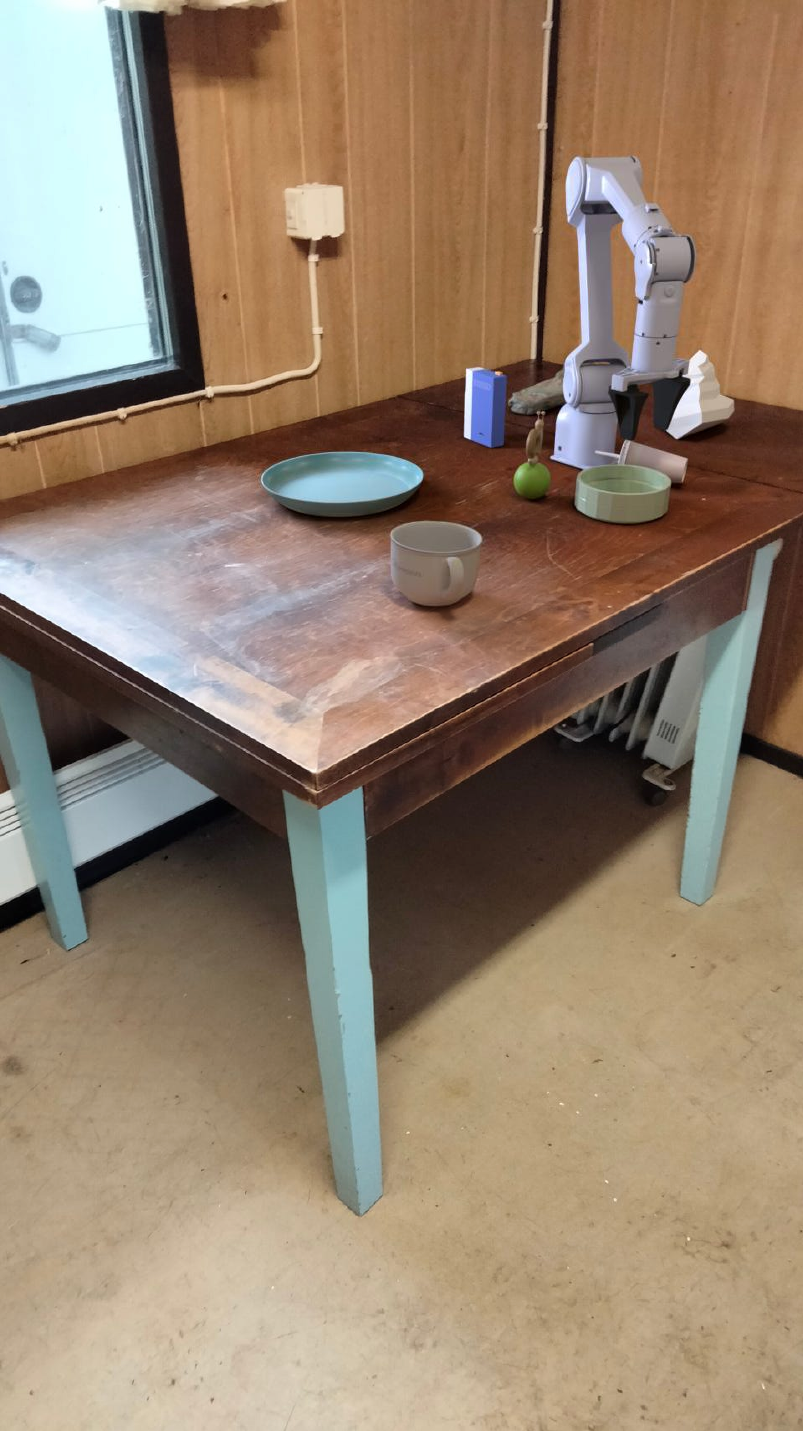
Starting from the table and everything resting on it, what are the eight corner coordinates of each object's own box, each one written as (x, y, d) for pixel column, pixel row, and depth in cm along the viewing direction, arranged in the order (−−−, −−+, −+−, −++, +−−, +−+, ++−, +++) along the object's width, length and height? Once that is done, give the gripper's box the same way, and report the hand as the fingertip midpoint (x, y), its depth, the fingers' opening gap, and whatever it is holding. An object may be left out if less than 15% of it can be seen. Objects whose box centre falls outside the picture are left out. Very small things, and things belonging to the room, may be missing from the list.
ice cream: (640, 442, 182) (636, 357, 178) (688, 432, 192) (685, 352, 187) (702, 438, 173) (699, 349, 169) (749, 428, 182) (748, 343, 178)
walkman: (503, 445, 176) (507, 373, 170) (490, 448, 175) (493, 375, 169) (476, 434, 182) (478, 364, 176) (463, 436, 181) (465, 366, 174)
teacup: (387, 579, 129) (386, 518, 125) (473, 576, 130) (475, 515, 126) (396, 629, 117) (396, 564, 113) (491, 625, 118) (493, 560, 114)
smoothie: (692, 440, 155) (601, 424, 159) (682, 469, 152) (589, 452, 156) (687, 472, 160) (598, 456, 164) (677, 500, 157) (587, 483, 161)
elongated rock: (493, 417, 196) (538, 429, 191) (495, 389, 193) (540, 400, 188) (588, 371, 218) (630, 381, 213) (590, 346, 215) (633, 355, 210)
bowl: (555, 507, 151) (557, 477, 148) (614, 487, 158) (617, 458, 155) (626, 532, 142) (630, 501, 140) (685, 510, 149) (690, 480, 147)
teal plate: (456, 493, 156) (456, 472, 154) (341, 538, 141) (340, 515, 139) (344, 460, 170) (344, 440, 168) (229, 497, 155) (227, 476, 153)
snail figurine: (554, 491, 156) (559, 412, 150) (545, 505, 151) (550, 424, 145) (519, 488, 158) (523, 409, 152) (508, 502, 153) (512, 420, 146)
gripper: (646, 346, 133) (634, 450, 140) (712, 330, 141) (698, 429, 148) (603, 337, 138) (594, 438, 145) (670, 323, 146) (658, 419, 153)
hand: (644, 433), depth 147 cm, fingers open, 7 cm apart
